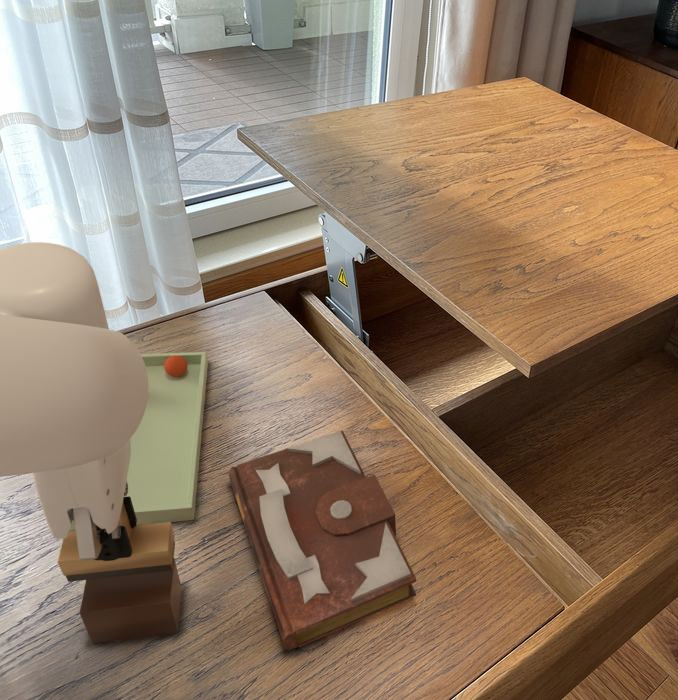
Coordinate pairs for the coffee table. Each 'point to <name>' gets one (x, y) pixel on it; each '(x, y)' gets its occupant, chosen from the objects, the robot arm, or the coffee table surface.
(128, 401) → the robot arm
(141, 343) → the coffee table surface
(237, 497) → the book
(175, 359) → the orange-red sphere
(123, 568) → the wooden block
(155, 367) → the tray
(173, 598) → the stand
